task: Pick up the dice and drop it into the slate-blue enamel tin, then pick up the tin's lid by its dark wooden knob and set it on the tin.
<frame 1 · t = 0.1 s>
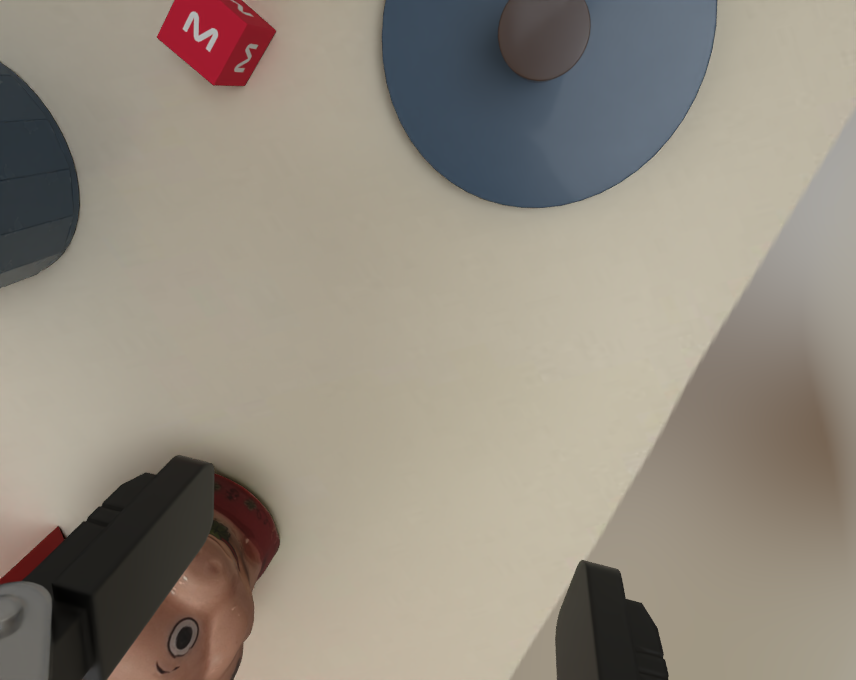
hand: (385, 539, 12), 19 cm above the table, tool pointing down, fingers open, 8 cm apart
lid: (540, 44, 24), point 1 cm above the table
dice: (236, 37, 27), on the table
decorative planter: (209, 535, 40), on the table
book: (85, 651, 48), on the table
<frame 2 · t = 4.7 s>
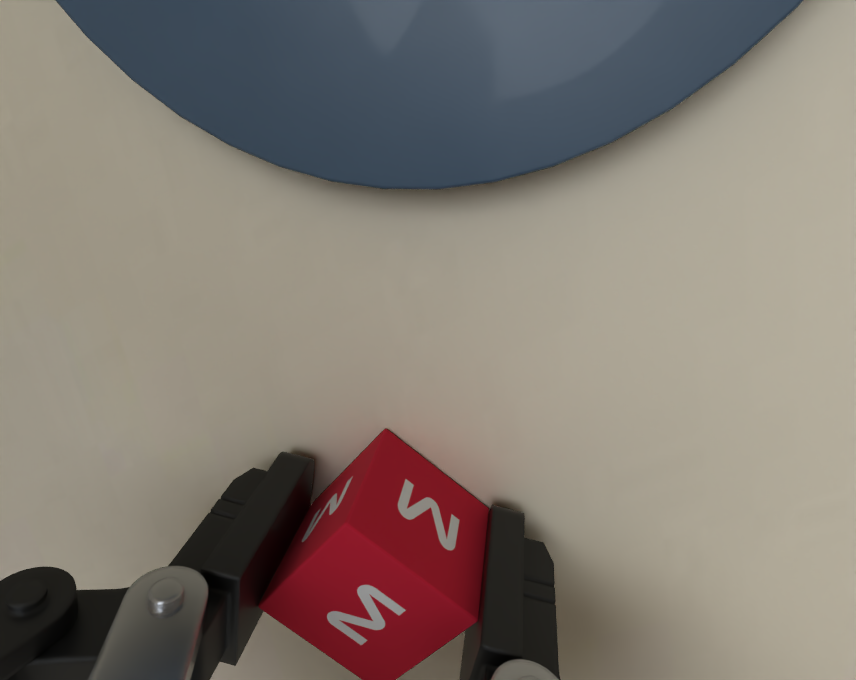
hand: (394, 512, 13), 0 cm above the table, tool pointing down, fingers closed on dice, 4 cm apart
dice: (399, 500, 13), on the table, touching gripper
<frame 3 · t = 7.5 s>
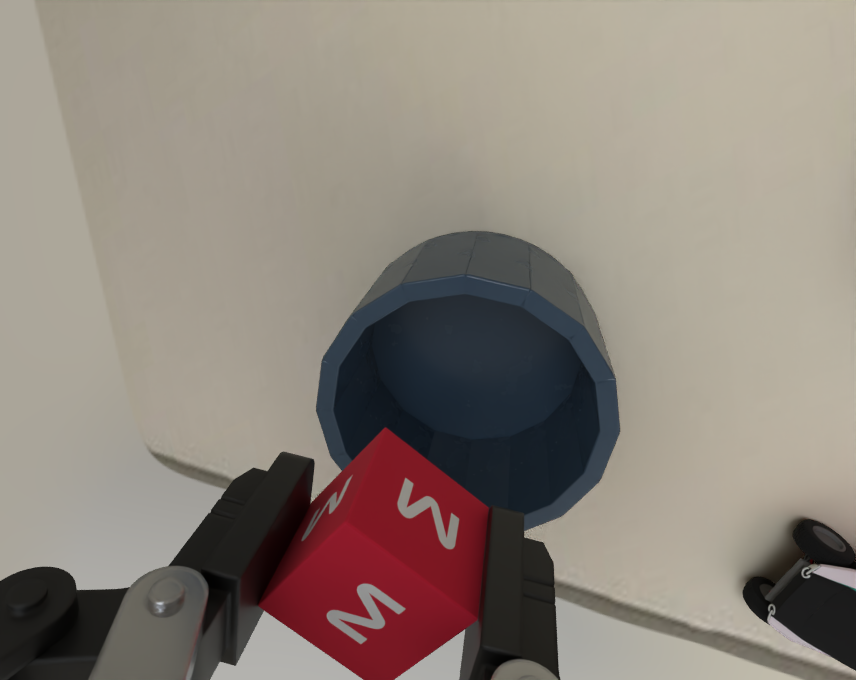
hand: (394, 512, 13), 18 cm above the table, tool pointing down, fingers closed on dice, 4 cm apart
tin: (475, 346, 31), on the table
dice: (399, 499, 13), point 17 cm above the table, touching gripper
when the fingers open (7 cm above the table, at t = 10.3 s): dice drops 6 cm, resting on tin.
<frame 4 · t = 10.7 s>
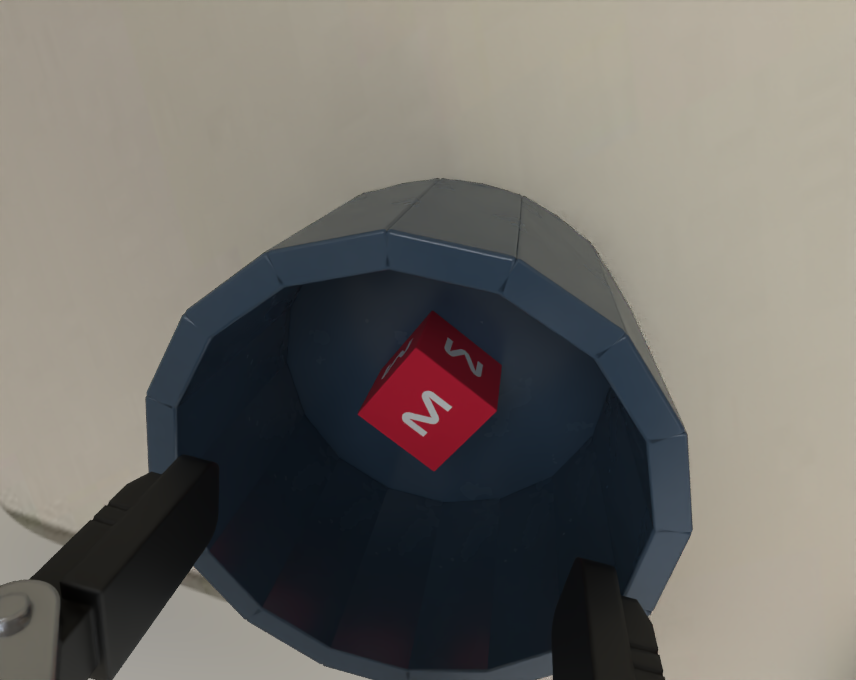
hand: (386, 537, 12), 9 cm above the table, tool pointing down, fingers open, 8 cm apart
tin: (444, 363, 20), on the table
dice: (441, 365, 20), resting on tin
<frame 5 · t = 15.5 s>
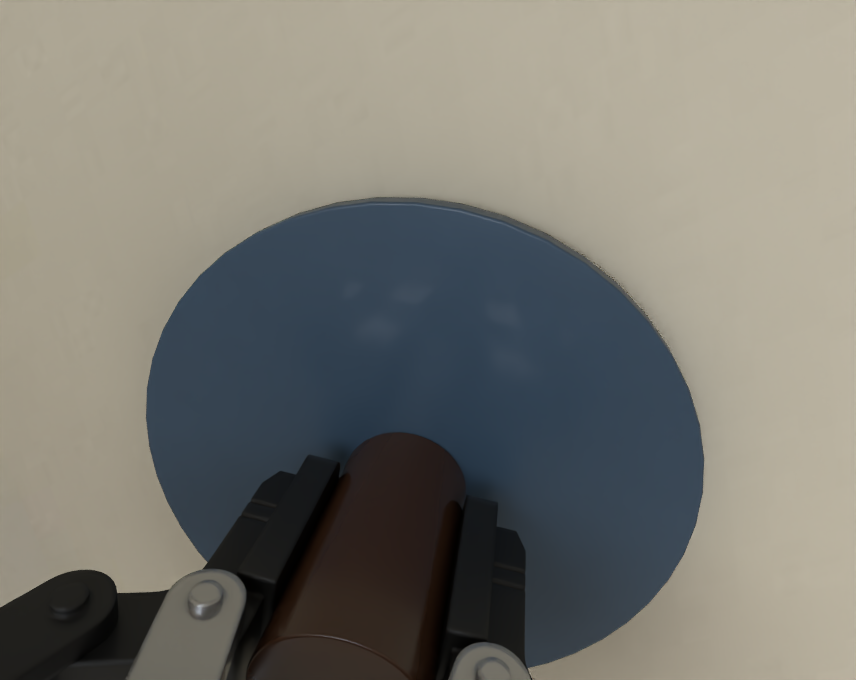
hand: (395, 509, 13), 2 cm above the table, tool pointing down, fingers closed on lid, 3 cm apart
lid: (409, 469, 14), point 1 cm above the table, touching gripper
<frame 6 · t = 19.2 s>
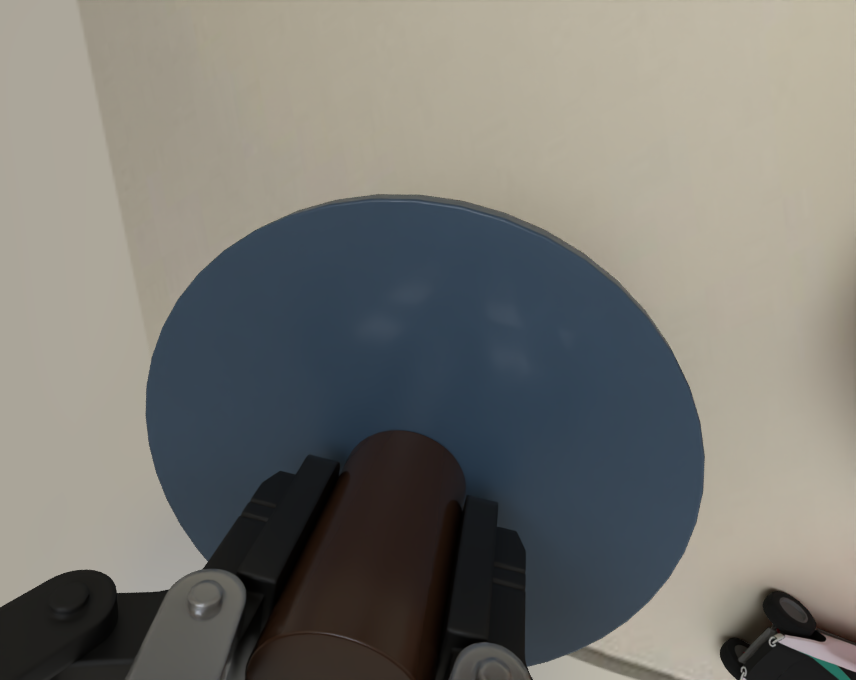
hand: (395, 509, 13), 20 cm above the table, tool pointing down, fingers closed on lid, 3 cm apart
lid: (409, 467, 14), point 18 cm above the table, touching gripper
toy car: (820, 642, 38), on the table
when the fingers open (9 cm above the table, at t = 22.8 s): lid stays where it is, resting on tin.
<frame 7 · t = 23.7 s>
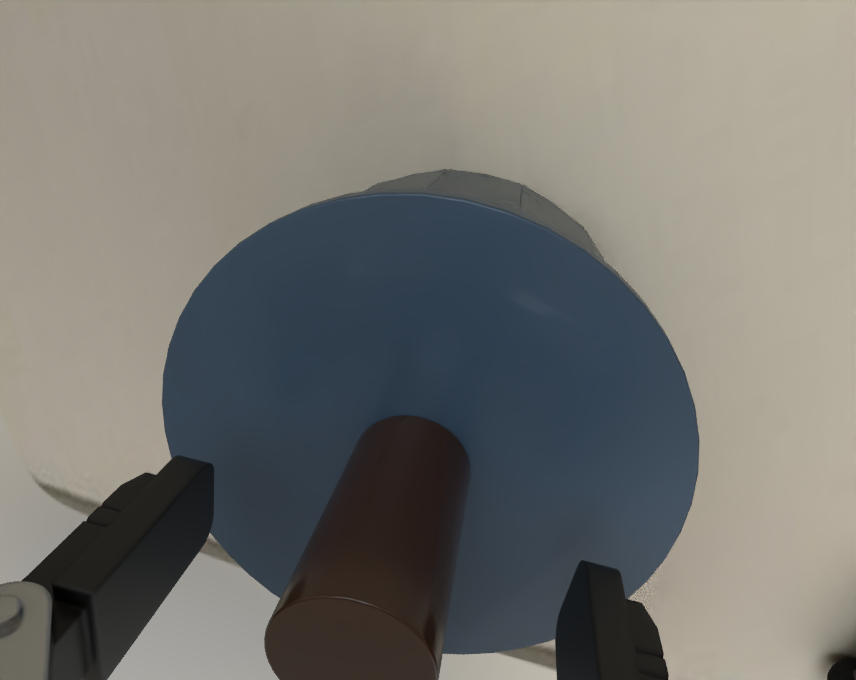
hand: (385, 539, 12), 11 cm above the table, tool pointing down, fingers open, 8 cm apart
lid: (416, 452, 15), point 7 cm above the table, touching tin
tin: (450, 340, 22), on the table
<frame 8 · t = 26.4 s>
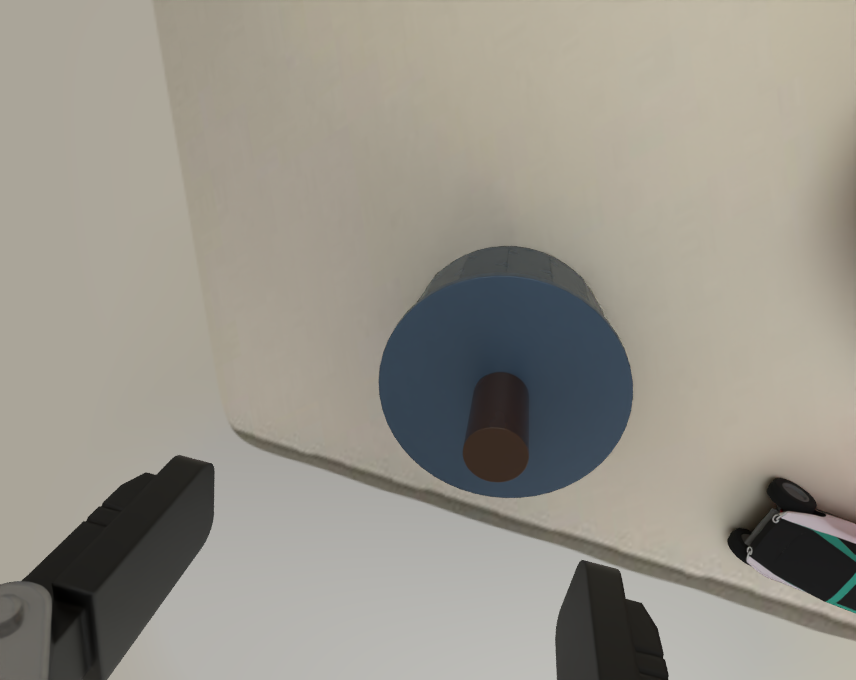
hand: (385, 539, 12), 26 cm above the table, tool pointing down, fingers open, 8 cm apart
lid: (501, 391, 31), point 7 cm above the table, touching tin
tin: (505, 338, 38), on the table
toy car: (822, 531, 40), on the table
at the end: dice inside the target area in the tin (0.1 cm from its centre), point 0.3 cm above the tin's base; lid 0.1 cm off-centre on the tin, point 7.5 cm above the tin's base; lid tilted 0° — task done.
